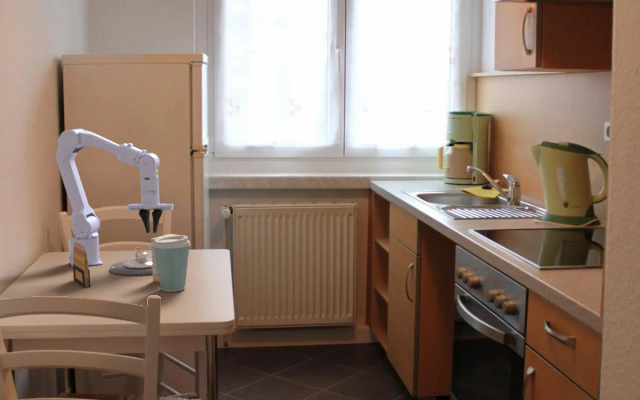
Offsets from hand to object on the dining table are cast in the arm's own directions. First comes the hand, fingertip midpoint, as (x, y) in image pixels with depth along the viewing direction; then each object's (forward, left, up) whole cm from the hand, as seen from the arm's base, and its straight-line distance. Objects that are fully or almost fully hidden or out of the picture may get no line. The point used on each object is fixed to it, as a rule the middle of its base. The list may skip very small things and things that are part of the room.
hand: (151, 232), depth 249 cm
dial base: (-4, -5, -10) cm, 12 cm away
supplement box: (0, -23, -11) cm, 25 cm away
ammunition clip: (-24, -17, -11) cm, 31 cm away
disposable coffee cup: (-1, -35, -11) cm, 37 cm away
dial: (-4, -4, -9) cm, 11 cm away
